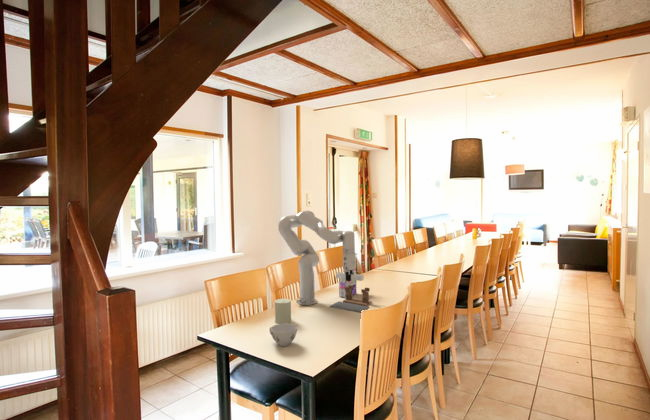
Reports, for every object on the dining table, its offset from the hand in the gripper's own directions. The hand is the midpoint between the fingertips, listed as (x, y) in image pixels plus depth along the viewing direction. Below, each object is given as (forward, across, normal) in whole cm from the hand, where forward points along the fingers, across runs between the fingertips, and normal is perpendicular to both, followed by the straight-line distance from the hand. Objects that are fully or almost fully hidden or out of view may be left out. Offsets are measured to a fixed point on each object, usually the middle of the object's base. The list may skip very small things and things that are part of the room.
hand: (349, 280), depth 225 cm
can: (+17, -40, +21) cm, 48 cm away
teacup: (+17, -64, +2) cm, 66 cm away
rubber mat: (+17, 0, +1) cm, 17 cm away
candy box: (+17, +23, +14) cm, 32 cm away
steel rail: (-1, 0, 0) cm, 1 cm away
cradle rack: (+17, +11, +1) cm, 20 cm away
